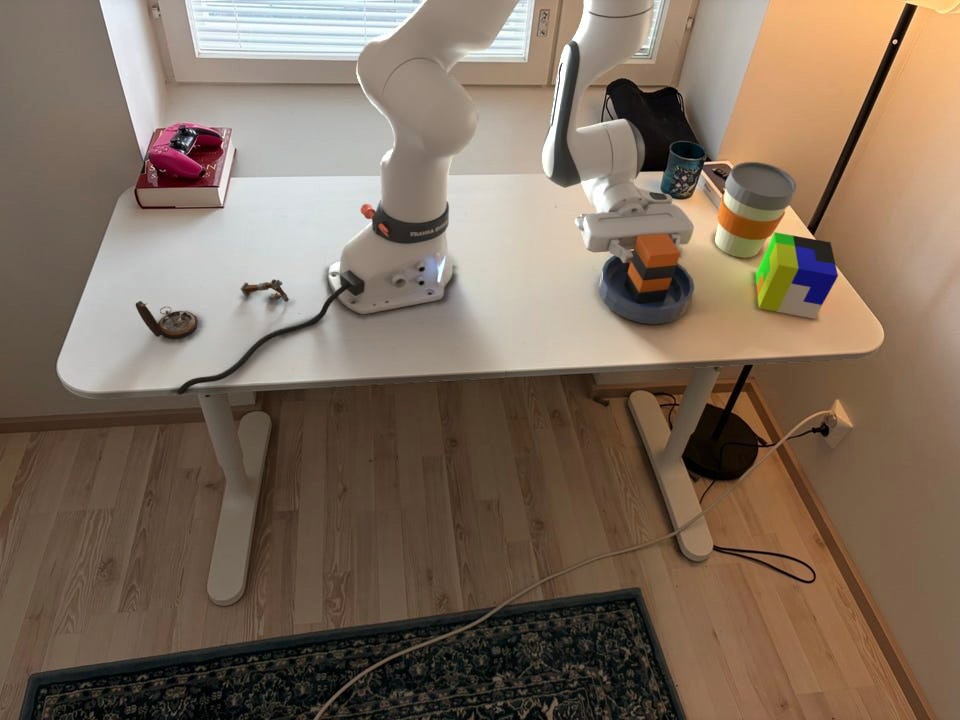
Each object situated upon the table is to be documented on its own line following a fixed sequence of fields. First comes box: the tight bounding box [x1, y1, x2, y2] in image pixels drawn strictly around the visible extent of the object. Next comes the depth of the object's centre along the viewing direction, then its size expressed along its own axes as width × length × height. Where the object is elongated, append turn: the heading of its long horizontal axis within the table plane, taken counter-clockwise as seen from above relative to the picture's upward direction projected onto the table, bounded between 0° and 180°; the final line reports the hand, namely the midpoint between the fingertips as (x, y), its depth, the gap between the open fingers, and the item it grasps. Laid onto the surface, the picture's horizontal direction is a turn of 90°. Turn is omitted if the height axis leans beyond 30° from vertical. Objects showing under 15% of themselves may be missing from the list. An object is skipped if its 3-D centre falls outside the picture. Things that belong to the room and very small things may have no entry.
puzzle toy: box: [755, 231, 839, 320], centre depth 131 cm, size 10×10×10 cm
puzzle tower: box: [624, 233, 680, 304], centre depth 127 cm, size 6×6×11 cm
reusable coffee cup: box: [714, 161, 797, 259], centre depth 140 cm, size 13×13×15 cm
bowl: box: [598, 250, 695, 325], centre depth 130 cm, size 16×16×4 cm
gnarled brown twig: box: [239, 279, 290, 303], centre depth 123 cm, size 2×8×4 cm, turn 75°
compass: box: [135, 300, 199, 340], centre depth 115 cm, size 8×8×7 cm
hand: (653, 257), depth 126 cm, fingers open, 8 cm apart
